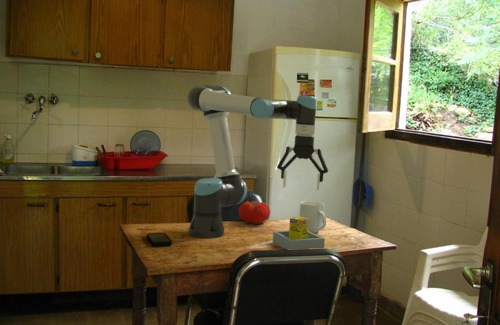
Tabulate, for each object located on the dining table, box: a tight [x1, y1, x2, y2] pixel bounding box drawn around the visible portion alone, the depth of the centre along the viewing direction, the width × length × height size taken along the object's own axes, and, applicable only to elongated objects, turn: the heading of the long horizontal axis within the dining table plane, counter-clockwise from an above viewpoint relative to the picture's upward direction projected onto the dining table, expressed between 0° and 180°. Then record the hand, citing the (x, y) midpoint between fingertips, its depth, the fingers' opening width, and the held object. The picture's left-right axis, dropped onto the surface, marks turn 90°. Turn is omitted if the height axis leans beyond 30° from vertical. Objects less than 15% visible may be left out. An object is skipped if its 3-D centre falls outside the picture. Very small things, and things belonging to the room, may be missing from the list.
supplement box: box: [288, 215, 309, 240], centre depth 222 cm, size 6×6×11 cm
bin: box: [272, 230, 326, 250], centre depth 223 cm, size 15×15×5 cm
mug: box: [299, 200, 327, 234], centre depth 247 cm, size 15×11×13 cm
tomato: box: [238, 200, 271, 225], centre depth 262 cm, size 14×16×10 cm
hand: (301, 188), depth 220 cm, fingers open, 13 cm apart
